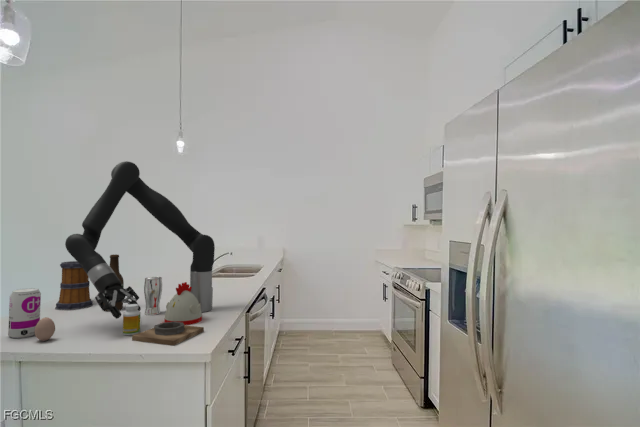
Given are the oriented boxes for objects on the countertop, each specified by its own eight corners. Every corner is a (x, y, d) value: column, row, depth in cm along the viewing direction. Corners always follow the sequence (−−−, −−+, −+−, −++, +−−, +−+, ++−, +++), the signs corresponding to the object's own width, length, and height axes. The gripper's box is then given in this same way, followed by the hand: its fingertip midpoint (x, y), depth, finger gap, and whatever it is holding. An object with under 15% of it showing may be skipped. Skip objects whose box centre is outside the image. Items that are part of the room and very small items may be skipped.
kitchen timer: (156, 323, 140) (157, 283, 141) (181, 315, 153) (182, 279, 154) (185, 327, 135) (186, 286, 136) (209, 318, 148) (209, 281, 149)
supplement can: (44, 333, 126) (46, 289, 126) (16, 340, 118) (18, 293, 119) (31, 330, 129) (32, 287, 130) (2, 336, 122) (4, 291, 122)
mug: (65, 302, 175) (66, 259, 175) (100, 300, 179) (101, 259, 180) (49, 311, 156) (50, 264, 157) (88, 309, 161) (89, 263, 161)
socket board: (165, 327, 135) (166, 317, 135) (203, 331, 130) (203, 321, 130) (131, 340, 119) (132, 329, 119) (173, 345, 115) (173, 334, 115)
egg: (49, 342, 116) (50, 319, 116) (30, 343, 115) (31, 319, 115) (58, 337, 121) (58, 315, 122) (39, 338, 120) (40, 315, 120)
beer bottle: (113, 312, 156) (115, 255, 157) (98, 311, 158) (99, 255, 158) (127, 308, 164) (128, 254, 164) (111, 307, 165) (113, 253, 166)
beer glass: (139, 314, 153) (140, 278, 153) (152, 311, 159) (153, 276, 159) (152, 316, 150) (153, 279, 150) (165, 312, 156) (166, 277, 157)
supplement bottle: (141, 334, 126) (141, 305, 126) (123, 336, 123) (124, 307, 123) (138, 330, 131) (139, 302, 131) (121, 332, 128) (122, 304, 128)
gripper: (92, 274, 123) (119, 311, 120) (126, 269, 137) (150, 302, 133) (80, 289, 125) (105, 326, 121) (114, 283, 138) (138, 316, 135)
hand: (129, 314), depth 127 cm, fingers open, 8 cm apart
